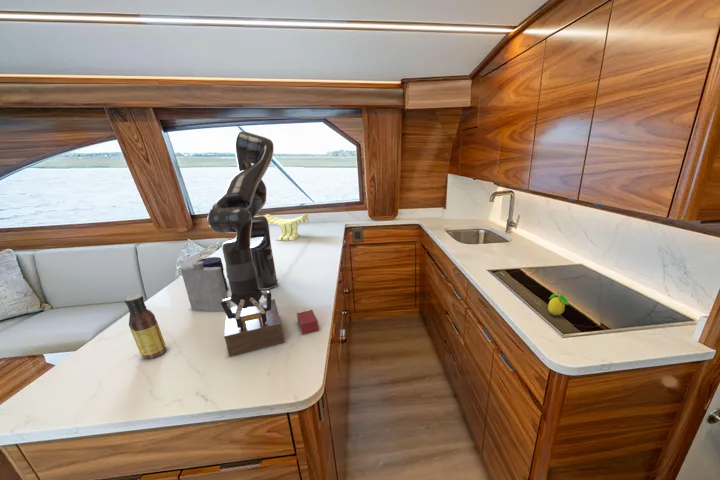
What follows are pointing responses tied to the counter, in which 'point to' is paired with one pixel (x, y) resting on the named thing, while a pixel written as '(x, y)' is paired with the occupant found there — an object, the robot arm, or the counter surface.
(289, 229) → the slatted curved stool
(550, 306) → the lemon
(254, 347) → the chest
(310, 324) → the book
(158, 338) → the sauce bottle
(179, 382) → the counter surface
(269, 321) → the chest lid
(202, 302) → the hip flask
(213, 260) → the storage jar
